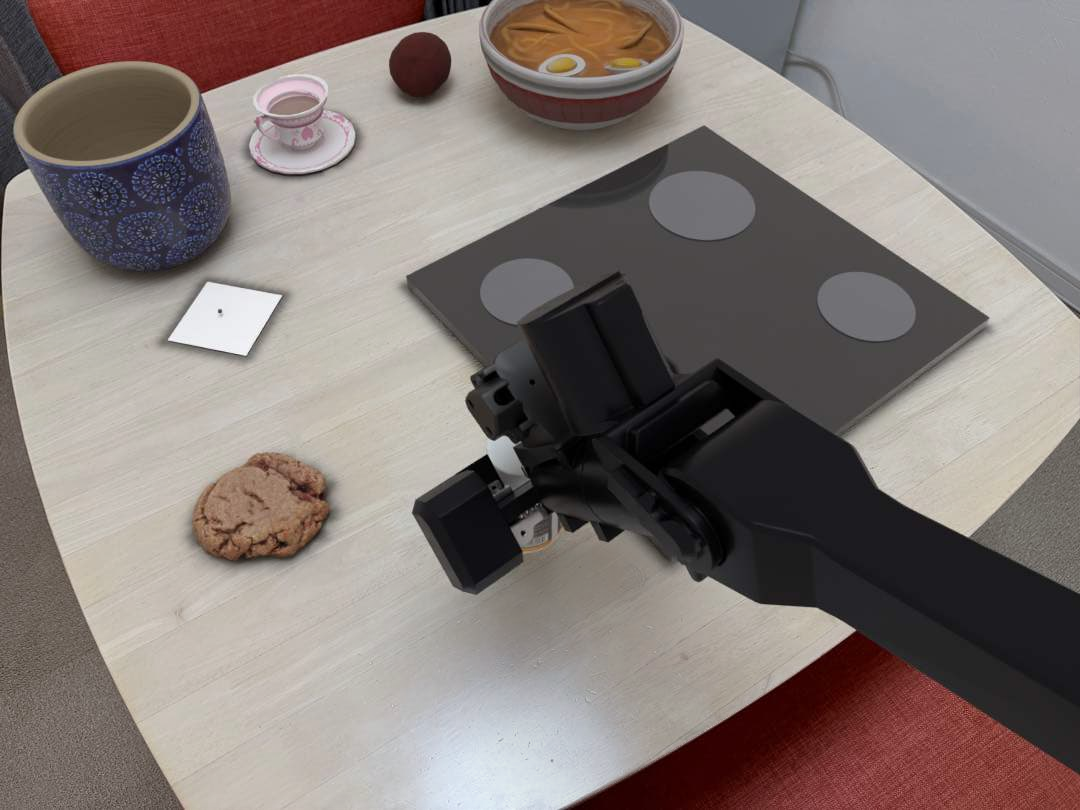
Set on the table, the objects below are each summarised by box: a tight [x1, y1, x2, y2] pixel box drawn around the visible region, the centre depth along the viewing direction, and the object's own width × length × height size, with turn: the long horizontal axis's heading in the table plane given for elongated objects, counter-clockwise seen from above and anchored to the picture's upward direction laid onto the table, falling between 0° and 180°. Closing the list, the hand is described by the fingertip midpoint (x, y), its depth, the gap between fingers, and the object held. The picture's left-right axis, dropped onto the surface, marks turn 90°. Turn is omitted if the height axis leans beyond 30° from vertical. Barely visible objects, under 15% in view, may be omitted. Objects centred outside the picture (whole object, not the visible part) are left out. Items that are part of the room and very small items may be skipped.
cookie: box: [191, 451, 331, 561], centre depth 70 cm, size 10×11×3 cm
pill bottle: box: [485, 436, 563, 554], centre depth 62 cm, size 6×6×10 cm
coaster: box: [167, 281, 283, 357], centre depth 84 cm, size 8×8×1 cm
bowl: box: [478, 0, 685, 131], centre depth 102 cm, size 23×23×10 cm
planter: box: [12, 60, 232, 272], centre depth 86 cm, size 17×17×15 cm
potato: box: [388, 31, 452, 99], centre depth 106 cm, size 7×8×7 cm
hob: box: [405, 125, 991, 562], centre depth 85 cm, size 38×40×2 cm
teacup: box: [248, 73, 357, 175], centre depth 99 cm, size 12×12×6 cm
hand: (511, 460), depth 61 cm, fingers closed on pill bottle, 6 cm apart
